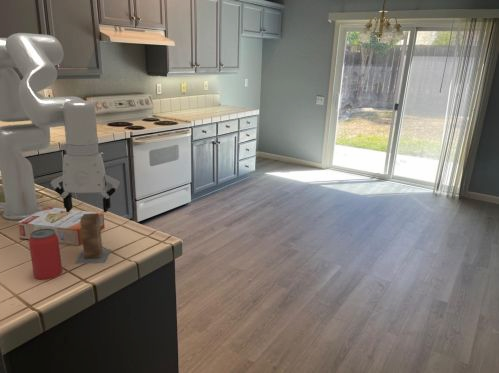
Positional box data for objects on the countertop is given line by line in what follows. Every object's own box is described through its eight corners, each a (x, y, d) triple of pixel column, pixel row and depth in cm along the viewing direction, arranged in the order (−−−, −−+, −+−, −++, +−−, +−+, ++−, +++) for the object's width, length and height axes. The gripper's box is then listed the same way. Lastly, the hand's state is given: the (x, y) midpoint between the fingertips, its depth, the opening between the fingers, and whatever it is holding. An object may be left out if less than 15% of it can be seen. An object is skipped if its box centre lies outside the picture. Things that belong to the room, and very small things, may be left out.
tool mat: (74, 265, 104) (74, 263, 104) (83, 251, 112) (82, 249, 112) (105, 264, 105) (104, 262, 105) (111, 251, 113) (111, 249, 113)
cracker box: (78, 228, 113) (16, 221, 116) (80, 247, 114) (19, 239, 118) (104, 211, 126) (47, 206, 129) (105, 228, 128) (49, 222, 131)
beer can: (40, 268, 102) (34, 227, 99) (66, 268, 103) (61, 227, 99) (29, 281, 96) (22, 238, 92) (56, 281, 97) (50, 238, 93)
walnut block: (84, 259, 107) (80, 219, 103) (88, 252, 110) (84, 213, 107) (99, 258, 107) (95, 218, 104) (102, 251, 111) (99, 213, 107)
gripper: (41, 151, 94) (49, 215, 100) (114, 153, 97) (118, 215, 102) (52, 145, 101) (59, 205, 107) (120, 146, 104) (123, 205, 109)
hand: (88, 210), depth 104 cm, fingers open, 9 cm apart
